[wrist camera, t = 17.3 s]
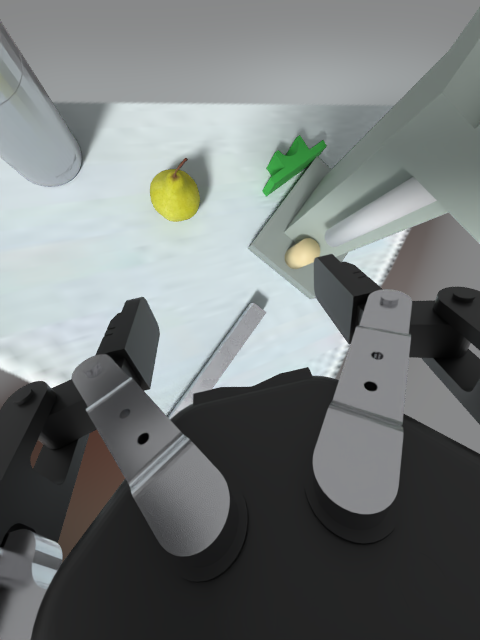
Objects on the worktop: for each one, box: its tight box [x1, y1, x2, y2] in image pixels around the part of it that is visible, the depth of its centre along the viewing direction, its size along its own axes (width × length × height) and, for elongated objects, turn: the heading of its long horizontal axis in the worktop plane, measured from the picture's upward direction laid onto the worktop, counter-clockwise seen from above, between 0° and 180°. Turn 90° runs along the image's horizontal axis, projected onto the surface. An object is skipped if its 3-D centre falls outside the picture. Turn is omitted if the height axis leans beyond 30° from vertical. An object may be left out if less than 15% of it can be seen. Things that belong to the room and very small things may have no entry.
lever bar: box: [168, 303, 266, 419], centre depth 41 cm, size 3×26×3 cm, turn 143°
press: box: [248, 8, 480, 299], centre depth 29 cm, size 14×19×35 cm
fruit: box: [150, 158, 200, 222], centre depth 35 cm, size 7×7×12 cm
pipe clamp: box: [263, 135, 327, 196], centre depth 43 cm, size 11×4×5 cm, turn 128°
